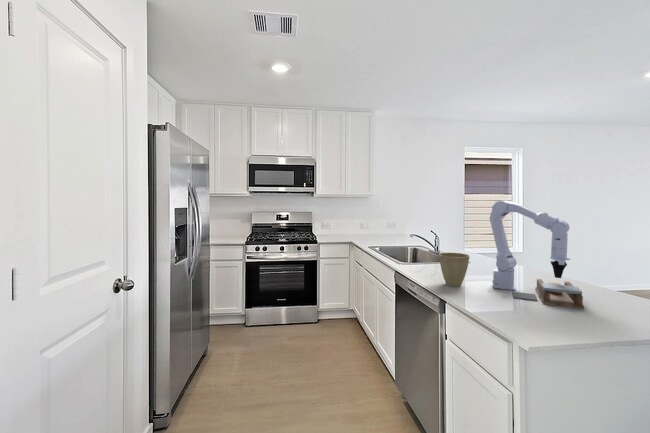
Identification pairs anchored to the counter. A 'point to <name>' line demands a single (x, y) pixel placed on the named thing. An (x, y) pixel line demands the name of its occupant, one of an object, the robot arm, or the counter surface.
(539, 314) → the counter surface
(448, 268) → the plant pot
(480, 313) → the counter surface
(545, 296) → the brown tray
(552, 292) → the block
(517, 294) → the mat
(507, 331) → the counter surface
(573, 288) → the lid
